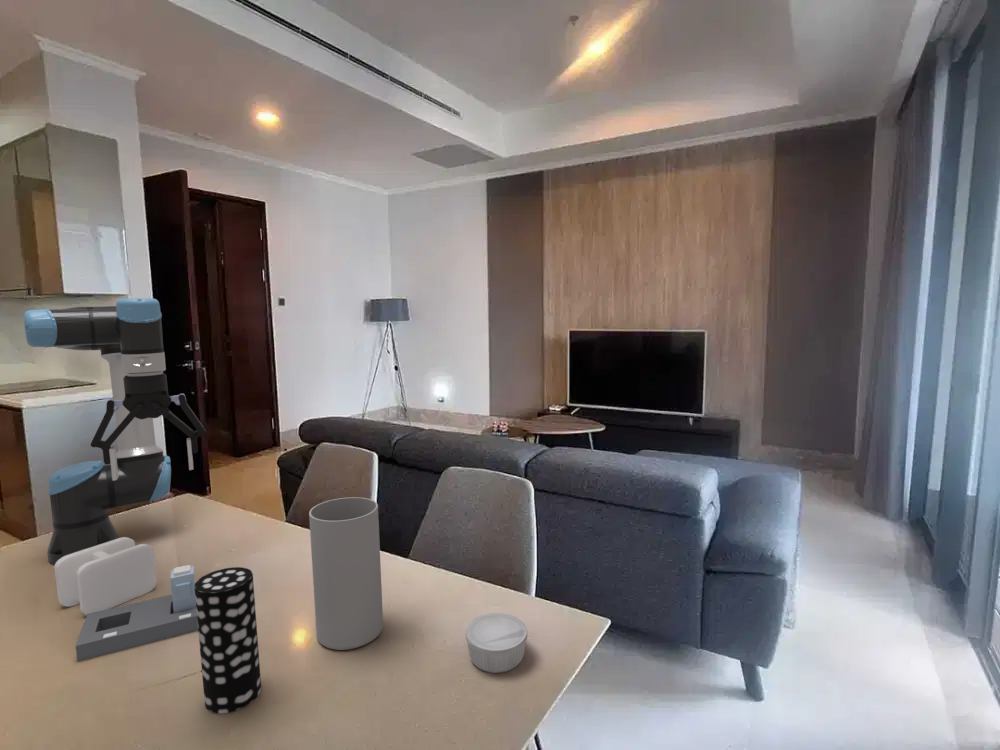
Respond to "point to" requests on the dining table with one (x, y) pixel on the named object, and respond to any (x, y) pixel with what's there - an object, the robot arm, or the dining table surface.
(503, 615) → the ramekin
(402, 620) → the dining table surface
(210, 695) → the spotted tube
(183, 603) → the plug
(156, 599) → the socket panel
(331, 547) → the cylinder vase
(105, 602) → the cable organizer
